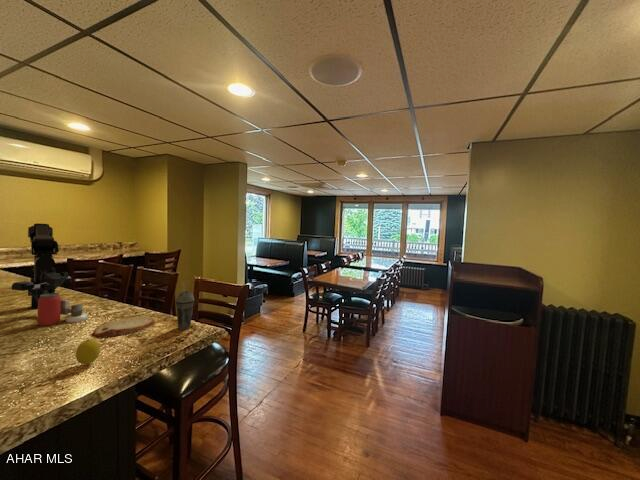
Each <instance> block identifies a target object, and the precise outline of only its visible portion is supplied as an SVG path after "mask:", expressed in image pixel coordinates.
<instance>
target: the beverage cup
mask: <svg viewBox="0 0 640 480" xmlns="http://www.w3.org/2000/svg"><path fill="white" fill-rule="evenodd" d="M182 289H183V291H182V292H180V293H179V294H177V297H176V299H175V305H176V306H175V307H176V317H177V320H176V321H177V327H178V328H177V329H178V330H181V331H184V330H185V331H186V330H189V329H190V328H191V324H192V315H193V308H194V305H195V297H194V294H193V293H191V291H186V289H185V281H182Z"/></svg>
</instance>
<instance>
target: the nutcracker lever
mask: <svg viewBox="0 0 640 480" xmlns="http://www.w3.org/2000/svg"><path fill="white" fill-rule="evenodd" d="M47 293H49V290H42V291H41V295H42V294H47ZM69 305H70V301H69V300H68V299H62V298H61V312H60V315H64V316H67V315H70V314H71V316H79V315H82V313H83V307H84V306H83V304H81V303H80V304H73V305H71V306H69Z"/></svg>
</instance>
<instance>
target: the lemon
mask: <svg viewBox="0 0 640 480" xmlns="http://www.w3.org/2000/svg"><path fill="white" fill-rule="evenodd" d="M75 352H76V353H75V359H76V361H77V362H78V363H80V364H81V365H86V366H89V365H90V364H92V363H93V362H95V361H96V360H97V359H98V358H99V357H100V356H99V355H100V353H101V347H100V344H99V342H98V341H96V340H94V339H91V338H87V339H86V340H84V341H83V342H81V343H80V344H79V345H78V347H76V351H75Z"/></svg>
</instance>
